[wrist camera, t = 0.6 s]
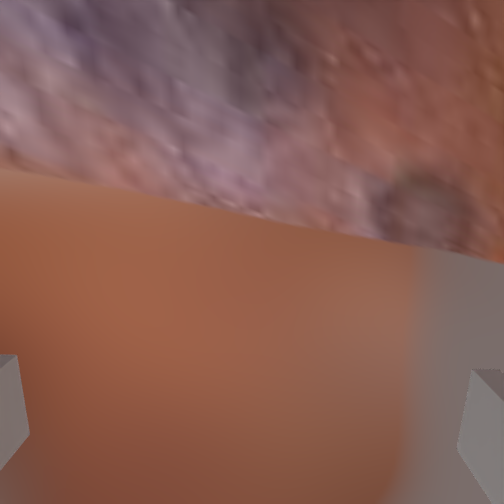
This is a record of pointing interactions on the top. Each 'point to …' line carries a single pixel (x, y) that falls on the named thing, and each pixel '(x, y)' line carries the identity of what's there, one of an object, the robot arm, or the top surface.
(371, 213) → the top surface
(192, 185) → the top surface
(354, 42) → the top surface
